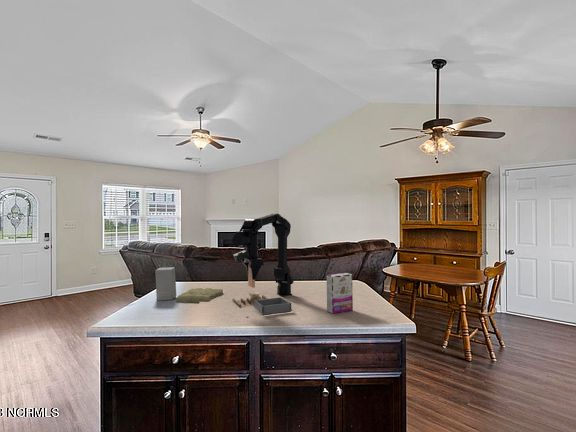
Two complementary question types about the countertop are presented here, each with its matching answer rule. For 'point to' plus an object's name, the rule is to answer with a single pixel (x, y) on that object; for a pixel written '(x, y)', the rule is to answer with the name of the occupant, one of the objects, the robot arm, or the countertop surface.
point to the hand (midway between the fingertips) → (251, 278)
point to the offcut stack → (254, 296)
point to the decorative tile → (199, 295)
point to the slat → (250, 278)
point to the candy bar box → (339, 293)
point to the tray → (272, 305)
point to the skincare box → (165, 283)
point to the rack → (245, 302)
